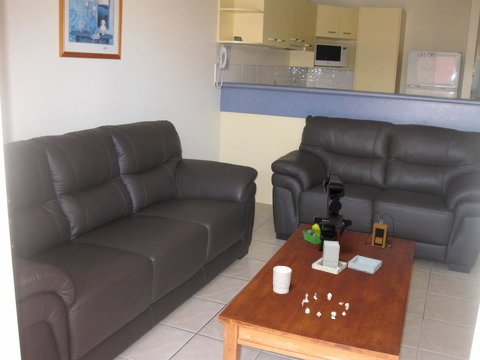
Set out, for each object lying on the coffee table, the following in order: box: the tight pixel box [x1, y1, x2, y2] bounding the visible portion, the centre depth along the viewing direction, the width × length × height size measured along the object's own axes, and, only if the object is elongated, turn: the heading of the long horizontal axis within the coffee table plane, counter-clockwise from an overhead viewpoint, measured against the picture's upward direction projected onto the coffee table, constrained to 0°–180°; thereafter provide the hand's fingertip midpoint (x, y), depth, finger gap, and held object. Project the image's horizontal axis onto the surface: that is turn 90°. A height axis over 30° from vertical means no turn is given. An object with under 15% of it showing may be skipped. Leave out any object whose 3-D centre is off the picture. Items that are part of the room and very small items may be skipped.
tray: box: [347, 254, 383, 275], centre depth 264 cm, size 13×13×3 cm
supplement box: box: [321, 241, 341, 269], centre depth 260 cm, size 7×7×13 cm
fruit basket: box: [302, 223, 322, 245], centre depth 299 cm, size 11×9×11 cm
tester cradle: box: [311, 257, 348, 275], centre depth 261 cm, size 13×13×3 cm
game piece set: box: [301, 292, 350, 320], centre depth 215 cm, size 19×20×4 cm
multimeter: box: [364, 211, 395, 249], centre depth 299 cm, size 15×10×20 cm
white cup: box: [272, 265, 293, 295], centre depth 229 cm, size 8×8×10 cm
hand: (330, 236), depth 267 cm, fingers open, 9 cm apart
